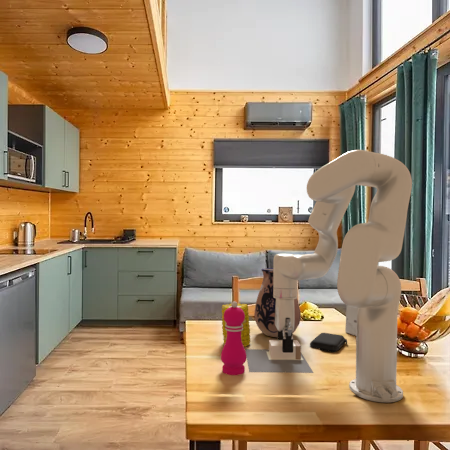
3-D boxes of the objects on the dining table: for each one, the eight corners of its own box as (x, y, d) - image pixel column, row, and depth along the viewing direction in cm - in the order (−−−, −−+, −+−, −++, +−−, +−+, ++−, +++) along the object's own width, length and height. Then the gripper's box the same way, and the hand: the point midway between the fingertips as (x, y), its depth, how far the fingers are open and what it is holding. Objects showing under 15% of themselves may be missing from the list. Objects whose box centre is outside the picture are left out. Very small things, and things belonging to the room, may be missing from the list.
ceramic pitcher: (247, 337, 143) (248, 270, 143) (264, 324, 162) (265, 265, 162) (294, 344, 136) (295, 273, 136) (306, 329, 155) (307, 267, 155)
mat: (313, 374, 108) (313, 372, 108) (249, 373, 108) (249, 371, 108) (299, 351, 128) (299, 349, 128) (245, 350, 128) (245, 349, 128)
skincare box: (344, 332, 152) (345, 301, 152) (353, 331, 154) (353, 300, 154) (356, 336, 146) (357, 304, 146) (365, 335, 148) (365, 303, 149)
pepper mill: (224, 378, 104) (225, 304, 104) (217, 369, 111) (218, 299, 111) (249, 376, 106) (250, 303, 106) (241, 366, 113) (242, 298, 113)
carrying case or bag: (340, 355, 126) (349, 343, 139) (340, 346, 126) (349, 335, 139) (308, 349, 131) (320, 339, 144) (308, 340, 131) (320, 330, 144)
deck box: (271, 358, 119) (271, 345, 119) (268, 352, 125) (269, 339, 125) (300, 359, 119) (300, 346, 119) (297, 352, 125) (297, 340, 125)
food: (238, 356, 127) (218, 349, 135) (261, 341, 135) (241, 336, 142) (229, 312, 125) (209, 308, 133) (253, 299, 133) (233, 296, 141)
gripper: (270, 288, 131) (269, 339, 130) (277, 297, 113) (277, 356, 113) (292, 288, 131) (292, 339, 130) (302, 297, 113) (302, 356, 113)
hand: (285, 347), depth 122 cm, fingers open, 9 cm apart
